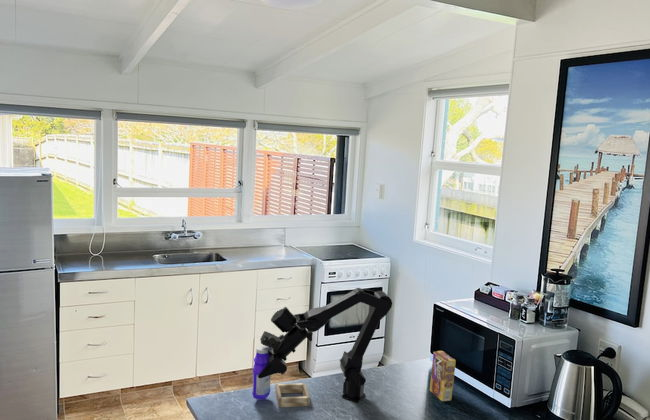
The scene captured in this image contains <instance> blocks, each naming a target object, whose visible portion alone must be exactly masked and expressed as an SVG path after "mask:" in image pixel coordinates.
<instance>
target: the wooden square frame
mask: <svg viewBox="0 0 650 420" xmlns="http://www.w3.org/2000/svg"><path fill="white" fill-rule="evenodd" d="M308 390H309V389H308V388H307V385H306V382H302V383H301V382H300V383H299V382H297V383H276V384H275V386H274V393H275V399H276V402H277V403H276V404H277V407H278V408H291V407H292V408H293V407H310V404H311V397H310V393H309V391H308ZM297 393H298V394H299V393H302V395H303V396H284V397H282V394H297Z"/></svg>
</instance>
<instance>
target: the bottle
mask: <svg viewBox="0 0 650 420" xmlns="http://www.w3.org/2000/svg"><path fill="white" fill-rule="evenodd" d="M255 352H256V353H255V357H254V358H253V362H254V363H253V368H252V390H251V391H252V397H253V399H256V400H265V399H267V398H268V397H269V395H270V393H271V376H272V375H269V376H266V377H263V378H259V377H258V375H259V374H260V372H261V371H262V370H263V369H264V367H265V366H266V365H267V360H268V358H269V359H270V357H269V354H268V347H267V346H265V345H259V346H256V351H255Z"/></svg>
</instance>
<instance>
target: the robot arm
mask: <svg viewBox="0 0 650 420" xmlns="http://www.w3.org/2000/svg"><path fill="white" fill-rule="evenodd" d="M359 303H361V304H366V305H367V306H368V313H367V316H366V318H365V320H364V322H363V324H362V327H361V328H360V331H359V333H358V335H357V336H356V337H357V338H356V339H355V341H354V344H353V346H352V348H351V350H349V351H348V352H347V351H346V350H345V351H343V354H342V357H341V358H340V359H339V363H340V364H339V366H340V370H341V372H342V374H343V376H344V377H345V379H344V382H343V385H342V395H341V398H344V399H346V400H350V401H353V402H356V403H359V402H360V401H361V400H362V399H363V398H364V397H365V396H366V393H365V391H364V390H365V383H366V381H367V379H366V377H365V375H364V374H363V372H362V367H363V360H364V355H365V353H366V350H367V349H368V347H369V345H370V342H371V340H372V338H373V336H374V334H375V332H376V329H377V327H378V326H379V323H380V321H381V320H382V319H383V318H385V317H386V316H387V315H388V313H389V311H390V310H391V309H392V307H393V300H392V299H391V297H390V296H389V295H388V294H387V293H386V292H384V291H383V290H377V291H374V290H371V289H364V288H360V287H356V288H355V289H353V290H351V291H350V292H348V293H347V294H345V295H343V296H340V297H339V298H337V299H335V300H333V301H332V302H330V303H328V304H326V305H323V306H319V307H314V308H311V309H308V310H307V311H305V312H302V313H297V314H296V313H295V314H293V313H292V312H291V311H290V310H289V308H288V307H287V306H285V307H283V308H281V309H278V310H277V311H276V312H274V314H273V315H272V317H271V319H270V322H271V323H273V325H274V326H276V328H278V329H279V330H280V331H281V333H285V334H279V336H278V335H275V334H273V333H271V332H268V331H265V330H264V331H263V333H262V334H261V337H260V339H259V340H260V345H261V344H262V345H261V346H267V347H268V354H269V357H270V359H269V358H268V360H267V365H266V366H265V367H264V369H263V370H262V371H261V372H260V374H259V375H258V377H259V378H263V377H266V376H269V375H271V376H272V375H277V374H281V375H284V374H285V373H286V372H287V371H288V366H287V363H286V362H287V360H288V358H287V357H288V356H289V355H290V354H291V353H293V354H294V353H295V352H296V348H297V347H298V346H299V345H301V343H303V341H305V340H306V339H307V340H308V341H310V342H312V341H313V333H315V332H317V331H319V330H320V329H322V328H323V327H324V326H325V325H326V324H327V323H328V322H329V321H331V320H332V319H333V318H334V317H336V316H338V315H339V314H341V313H343V312H345V311H346V310H349V309H351V308H352V307H354V306H356V305H358V304H359Z"/></svg>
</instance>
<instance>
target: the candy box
mask: <svg viewBox="0 0 650 420" xmlns="http://www.w3.org/2000/svg"><path fill="white" fill-rule="evenodd" d="M456 361H457V360H456V359H455V358H453V357H452V356H450V355H449V354H447V353H446V352H445V351H443V350H437V351H433V355H432V364H431V365H432V366H431V372H430V373H431V375H430V385H429V391H430V392H431V393H432V395H434V396H436V398H438V400H440V401H441V402H449V401H452V398H453V388H454V381H455V373H456V372H455V370H456Z"/></svg>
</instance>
